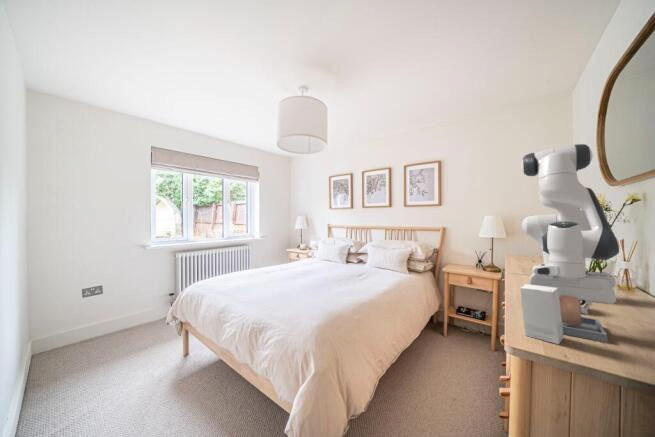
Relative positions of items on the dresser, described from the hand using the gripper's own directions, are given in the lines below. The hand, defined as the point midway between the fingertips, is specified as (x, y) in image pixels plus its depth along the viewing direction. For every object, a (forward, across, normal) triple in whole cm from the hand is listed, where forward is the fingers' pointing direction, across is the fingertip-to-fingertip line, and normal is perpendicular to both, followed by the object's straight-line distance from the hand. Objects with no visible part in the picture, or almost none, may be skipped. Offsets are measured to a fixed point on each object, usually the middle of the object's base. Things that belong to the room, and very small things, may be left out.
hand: (569, 311), depth 79 cm
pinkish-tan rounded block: (+4, 0, 0) cm, 4 cm away
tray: (+6, 0, 0) cm, 6 cm away
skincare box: (+6, +7, +13) cm, 16 cm away
